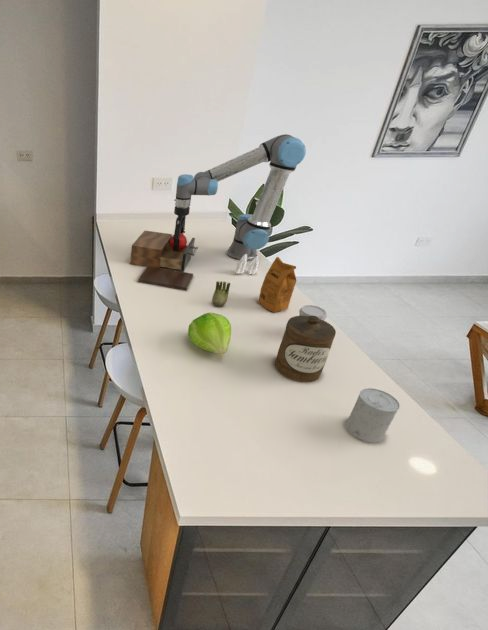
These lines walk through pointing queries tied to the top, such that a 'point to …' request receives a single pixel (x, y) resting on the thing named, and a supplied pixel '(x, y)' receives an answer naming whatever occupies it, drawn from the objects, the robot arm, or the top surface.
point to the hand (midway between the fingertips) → (177, 247)
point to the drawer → (177, 256)
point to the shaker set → (252, 267)
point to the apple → (181, 243)
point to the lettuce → (211, 332)
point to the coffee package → (278, 286)
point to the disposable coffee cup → (313, 311)
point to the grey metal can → (372, 415)
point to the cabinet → (149, 248)
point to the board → (166, 278)
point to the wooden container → (304, 348)
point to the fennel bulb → (220, 294)
